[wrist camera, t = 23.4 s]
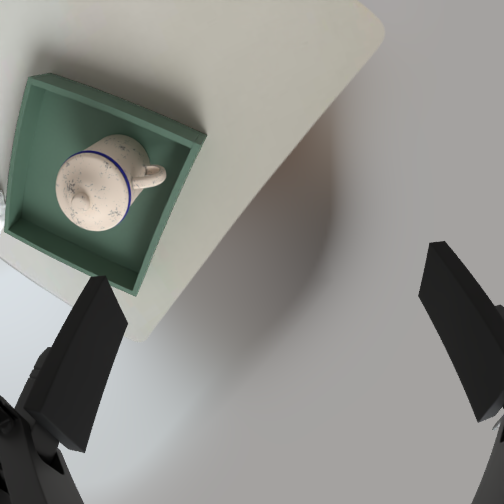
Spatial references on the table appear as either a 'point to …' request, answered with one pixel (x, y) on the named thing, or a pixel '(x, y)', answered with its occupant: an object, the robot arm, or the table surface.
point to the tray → (76, 140)
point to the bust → (2, 210)
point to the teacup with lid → (105, 181)
